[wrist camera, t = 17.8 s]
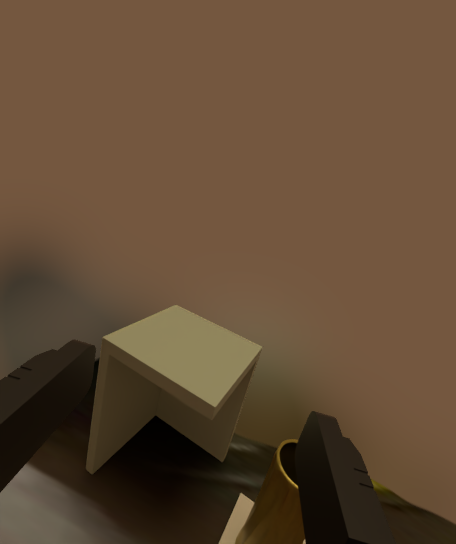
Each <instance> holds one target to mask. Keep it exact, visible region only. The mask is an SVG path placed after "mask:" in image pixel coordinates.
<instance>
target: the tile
mask: <svg viewBox="0 0 456 544" xmlns="http://www.w3.org/2000/svg"><path fill="white" fill-rule="evenodd" d="M253 505H254V502H253V501H251V500H250V499H249V498H247V497H246V496H244V495H243V494H242V493H241V494H240V496H239V498H238V501H237V503H236V505H235V507H234V510H233V512H232V514H231V517H230V519H229V521H228V523H227V526H226V528H225V530H224V533H223V535H222V537H221V539H220V542H219V544H235V541H236V537H237V535H238V533H239V532H240V530H241V529H242V527H243V526H244V524H245V522H246V520H247V518H248V516H249V513H250V511H251V509H252V507H253ZM303 544H306V542H305V539H304V542H303Z"/></svg>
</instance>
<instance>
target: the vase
mask: <svg viewBox="0 0 456 544" xmlns="http://www.w3.org/2000/svg"><path fill="white" fill-rule="evenodd" d="M297 442H298V440H294V439H289V440H285V441H283V442H282V443H281V444H280V446H279V447H278V449H277V450H276V452H275V455H274V457H273V460H272V463H271V465H270V467H269V470H268V472H267V475H266V477H265V480H264V482H263V485H262V487H261V490H260V492H259V494H258V496H257V498H256V501H255V503H254V505H253V507H252V509H251V511H250V513H249V516H248V518H247V520H246V522H245V524H244V526H243V527H242V529H241V530H240V532H239V533H238V535H237V537H236V541H235V544H303V542H304V539H305V534H304V527H303V519H302V512H301V505H300V497H299V490H298V482H297V475H296V467H295V451H296V446H297Z"/></svg>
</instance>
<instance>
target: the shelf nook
mask: <svg viewBox="0 0 456 544" xmlns="http://www.w3.org/2000/svg"><path fill="white" fill-rule="evenodd" d="M261 350H262V347H261V346H259V345H257V344H255V343H253V342H251V341H249V340H247V339H245V338H243V337H241V336H239V335H237V334H235V333H233V332H230V331H228V330H226V329H224V328H222V327H220V326H218V325H216V324H214V323H212V322H210V321H208V320H206V319H204V318H201V317H200V316H198V315H196V314H193V313H192V312H190V311H188V310H186V309H184V308H182V307H179V306H177V305H174V306H172V307H170V308H168V309H165V310H163V311H161V312H159V313H156V314H154V315H152V316H150V317H147V318H145V319H143V320H140V321H138V322H136V323H134V324H131V325H129V326H127V327H125V328H122V329H120V330H118V331H115V332H113V333H111V334H109V335H106V336H104V337H103V339H102V346H101V354H100V362H99V369H98V377H97V385H96V392H95V400H94V408H93V416H92V423H91V431H90V439H89V447H88V454H87V462H86V470H87V471H88V472H89V473H91V474H94V473H95V472H96V471H97V470H98V469H99V468H100V467H101V466H102V465H103V464H104V463H105V462H106V461H107V460H108V459H109V458H111V457H112V456H113V455H114V454H115V453H116V452H117V451H118V450H119V449H120V448H121V447H122V446H123V445H124V444H125V443H127V442H128V441H129V440H130V439H131V438H132V437H133V436H134V435H135V434H136V433H137V432H138V431H139V430H140V429H141V428H142V427H144V426H145V425H146V424H147V423H148V422H149V421H150V420H151V419H152V418H153V417H154V416H155V415H156V416H157V417H159V418H160V419H162V420H163V421H164V422H166V423H167V424H169V425H170V426H172V427H173V428H174V429H176V430H177V431H179V432H180V433H181V434H183V435H184V436H186V437H187V438H189V439H190V440H191V441H193V442H194V443H196V444H197V445H199V446H200V447H201V448H203V449H204V450H206V451H207V452H208V453H210V454H211V455H213V456H214V457H216V458H217V459H218V460H220V461H221V462H223V461H224V459H225V457H226V454H227V451H228V448H229V446H230V443H231V440H232V437H233V434H234V431H235V427H236V424H237V422H238V419H239V416H240V413H241V410H242V407H243V404H244V401H245V398H246V395H247V392H248V389H249V385H250V383H251V380H252V377H253V374H254V371H255V368H256V365H257V362H258V359H259V356H260V353H261Z"/></svg>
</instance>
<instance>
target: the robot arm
mask: <svg viewBox="0 0 456 544" xmlns="http://www.w3.org/2000/svg"><path fill="white" fill-rule="evenodd" d="M95 353H96V348H95V346H94V345H91V344H87V343H84V342H81V341H78V340H72V341H70V342H68V343H67V344H66V345H64V346H63V347H62V348H60V349H59V350H58V351H57V350H53V349H52V350H50V351H47V352H44V353H41V354H39V355H37V356H34V357H33V358H32V359H30V360H29V361H27V362H26V363H24V364H23V365H21V367H20V368H17V369H16V370H14V371H13V372H12V373H10V374H9V375H8V377H4V378H3V379H2V380H0V492H1V491H2V490H3V489H4V488H5V487H6V485H7V484H8V483H9V482H10V481H11V480H12V479H13V478H14V476H15V475H16V474H17V473H18V472H19V471H20V470H21V468H22V467H23V466H24V465H25V464H26V463H27V462H28V460H29V459H30V458H31V457H32V456H33V455H34V454H35V453H36V451H37V450H38V449H39V448H40V447H41V446H42V445H43V443H44V442H45V441H46V440H47V439H48V438H49V437H50V435H51V434H52V433H53V432H54V431H55V430H56V429H57V428H58V426H59V425H60V424H61V423H62V422H63V421H64V420H65V418H66V417H67V416H68V415H69V414H70V413H71V412H72V410H73V409H74V408H75V407H76V406H77V405H78V404H79V403H80V401H81V400H82V399H83V398H84V397H85V395H86V394H87V392H88V390H89V388H90V385H91V382H92V377H93V369H94V361H95ZM295 467H296V475H297V482H298V490H299V497H300V505H301V512H302V519H303V527H304V534H305V542H306V544H396V542H395V540H394V537H393V535H392V532H391V530H390V527H389V525H388V522H387V520H386V517H385V514H384V512H383V509H382V507H381V504H380V502H379V499H378V497H377V494H376V492H375V491H374V490H373V488H374V487H373V484H372V482H371V479H370V476H368V471H367V469H366V466H365V464H364V461H363V459H362V456H361V454H360V453H359V452H358V450H357V449H356V447H355V446H354V445H353V443H352V442H351V441H350V439H348V438H345V437H343V436H342V433H341V430H340V428H339V425H338V422H337V420H336V418H334V417H332V416H328V415H325V414H322V413H318V412H315V411H312V412H311V413H310V415H309V417H308V419H307V422H306V424H305V426H304V429H303V431H302V433H301V435H300V438H299V440H298V442H297V446H296V451H295Z"/></svg>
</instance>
